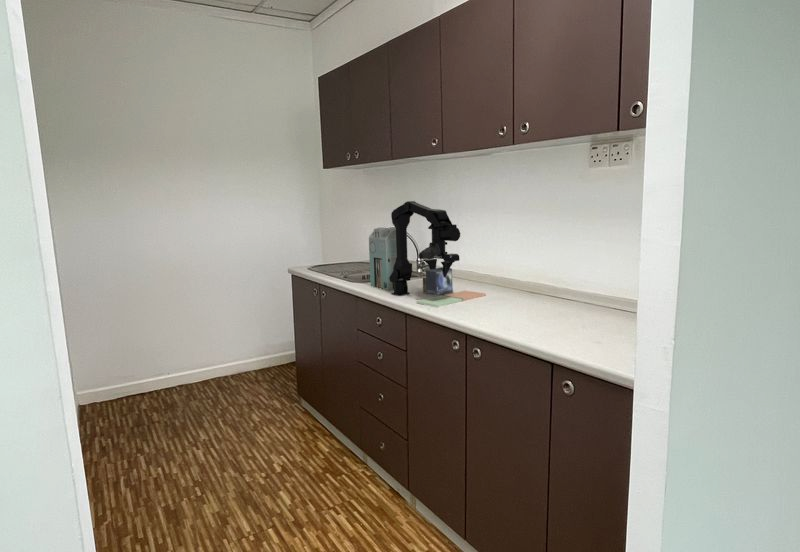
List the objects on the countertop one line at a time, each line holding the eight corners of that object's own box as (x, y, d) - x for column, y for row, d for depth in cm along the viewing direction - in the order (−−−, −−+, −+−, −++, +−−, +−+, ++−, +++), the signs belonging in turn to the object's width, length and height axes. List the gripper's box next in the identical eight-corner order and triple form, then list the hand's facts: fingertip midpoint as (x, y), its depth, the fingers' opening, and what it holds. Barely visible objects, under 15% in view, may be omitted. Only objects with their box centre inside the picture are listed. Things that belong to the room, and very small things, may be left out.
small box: (436, 296, 217) (435, 271, 215) (425, 294, 222) (424, 270, 220) (453, 292, 224) (452, 267, 222) (442, 290, 229) (441, 267, 227)
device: (370, 286, 268) (368, 228, 263) (383, 284, 272) (381, 227, 267) (387, 290, 254) (385, 229, 250) (400, 289, 258) (398, 228, 254)
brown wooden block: (423, 292, 247) (422, 277, 246) (431, 290, 251) (431, 276, 250) (444, 295, 237) (444, 280, 236) (453, 293, 241) (453, 279, 240)
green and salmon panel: (416, 303, 222) (416, 300, 222) (465, 292, 244) (465, 290, 244) (437, 307, 214) (436, 304, 214) (485, 295, 235) (485, 293, 235)
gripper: (409, 240, 221) (410, 276, 223) (441, 242, 207) (442, 281, 210) (427, 238, 228) (428, 273, 231) (460, 240, 215) (460, 277, 217)
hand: (438, 276), depth 222 cm, fingers open, 6 cm apart
